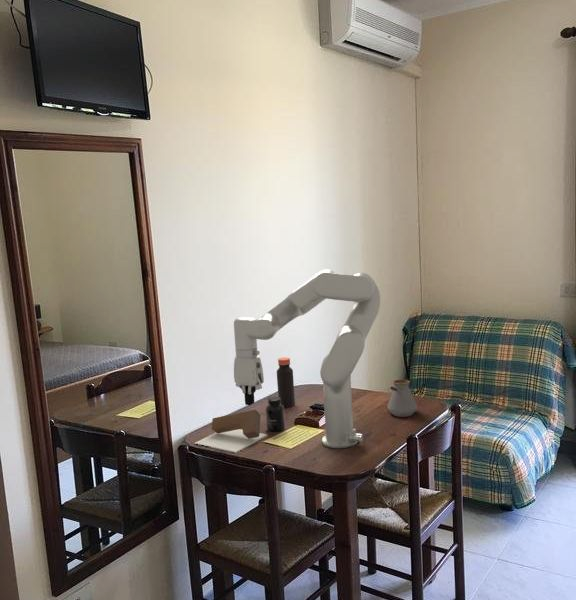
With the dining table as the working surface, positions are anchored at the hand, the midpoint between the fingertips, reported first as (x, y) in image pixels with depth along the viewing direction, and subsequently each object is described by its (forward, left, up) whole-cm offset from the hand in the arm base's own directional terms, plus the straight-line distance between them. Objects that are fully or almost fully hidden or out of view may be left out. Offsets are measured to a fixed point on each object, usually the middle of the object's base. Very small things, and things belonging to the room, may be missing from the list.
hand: (249, 404), depth 214 cm
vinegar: (+14, -41, -15) cm, 46 cm away
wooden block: (0, -4, -8) cm, 9 cm away
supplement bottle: (+1, -15, -15) cm, 21 cm away
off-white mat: (+9, +1, -14) cm, 17 cm away
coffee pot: (-36, -46, -15) cm, 60 cm away
